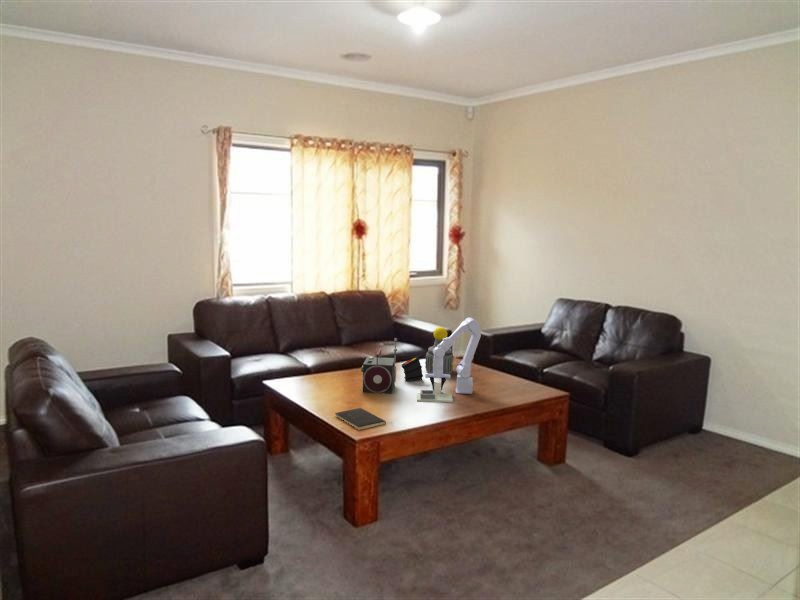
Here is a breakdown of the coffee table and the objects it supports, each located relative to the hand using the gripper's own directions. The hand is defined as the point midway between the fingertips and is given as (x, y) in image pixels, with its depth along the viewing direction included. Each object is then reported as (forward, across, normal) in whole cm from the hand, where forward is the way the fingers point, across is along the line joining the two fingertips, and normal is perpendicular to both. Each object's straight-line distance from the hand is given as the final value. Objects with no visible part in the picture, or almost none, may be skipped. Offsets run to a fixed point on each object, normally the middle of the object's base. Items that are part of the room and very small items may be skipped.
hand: (437, 389), depth 348 cm
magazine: (+2, +15, -23) cm, 28 cm away
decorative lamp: (+2, -3, -46) cm, 46 cm away
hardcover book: (+2, +41, +49) cm, 64 cm away
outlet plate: (+2, +2, +11) cm, 11 cm away
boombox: (+2, +34, -4) cm, 34 cm away
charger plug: (+2, 0, 0) cm, 2 cm away
